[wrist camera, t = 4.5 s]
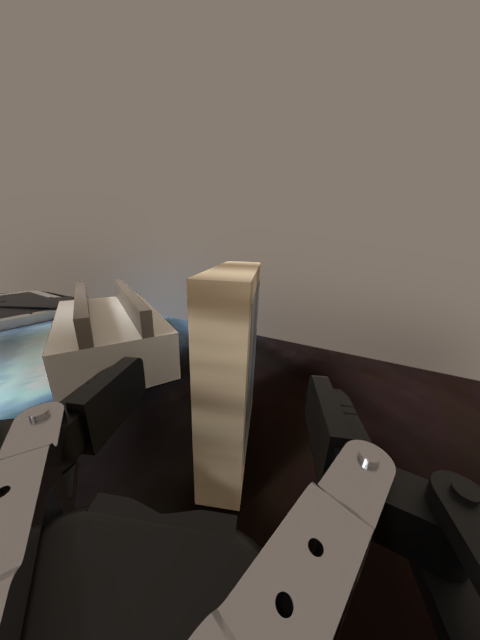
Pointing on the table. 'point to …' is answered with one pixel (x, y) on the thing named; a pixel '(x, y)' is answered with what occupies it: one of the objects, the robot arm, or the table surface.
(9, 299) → the picture frame
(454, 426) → the table surface
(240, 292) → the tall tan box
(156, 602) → the robot arm
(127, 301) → the picture ledge
